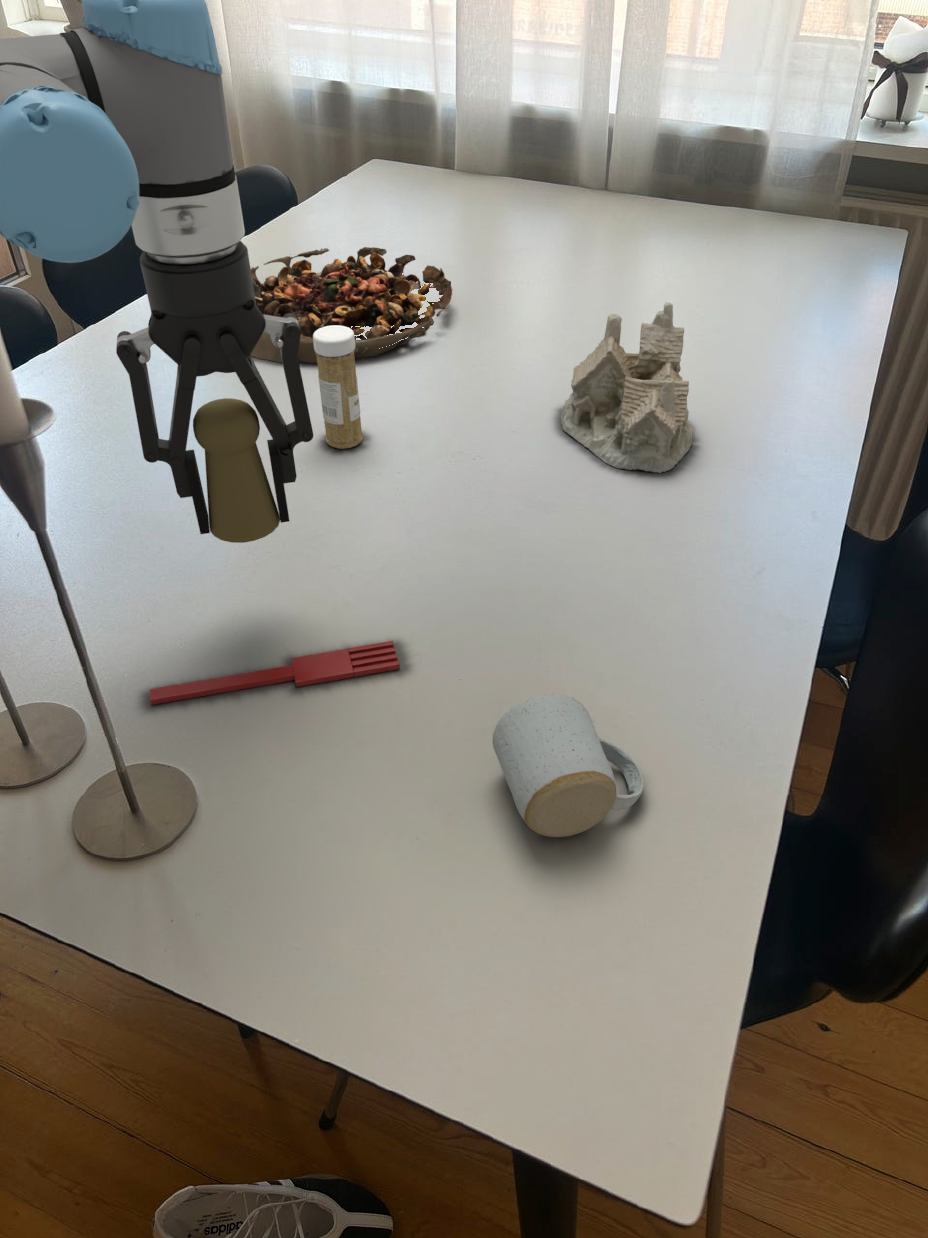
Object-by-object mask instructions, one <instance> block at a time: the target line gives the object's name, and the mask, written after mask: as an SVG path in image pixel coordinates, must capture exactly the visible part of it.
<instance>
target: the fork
mask: <svg viewBox="0 0 928 1238" xmlns="http://www.w3.org/2000/svg"><path fill="white" fill-rule="evenodd" d="M400 669H401V667H400V661H399V660H398V654H397V653H396V648H395V645H394V640H389V641H382V642H377V643H372V644H366V645H359V646H354V647H348V648H342V649H336V650H330V651H325V652H317V653H313V654H306V655H300V656H294V657H291V664H289V665H283V666H277V667H272V668H266V669H265V668H264V669H260V670H253V671H248V672H242V673H235V674H229V675H225V676H218V677H213V678H207V679H200V680H194V681H189V682H184V683H178V684H172V685H166V686H160V687H154V688H153V687H152V688H149V701H150V705H158V704H165V703H171V702H177V701H181V700H187V699H193V698H200V697H205V696H210V695H216V694H223V693H228V692H233V691H234V692H235V691H239V690H245V689H250V688H251V689H252V688H256V687H257V688H258V687H262V686H263V687H264V686H268V685H274V684H279V683H280V684H281V683H286V682H291V681H292V682H293V681H294V683H295V687H296V688H299V687H305V686H310V685H316V684H322V683H327V682H332V681H338V680H344V679H349V678H356V677H361V676H368V675H374V674H378V673H384V672H391V671H396V670H400Z"/></svg>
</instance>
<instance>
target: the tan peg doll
mask: <svg viewBox="0 0 928 1238" xmlns="http://www.w3.org/2000/svg"><path fill="white" fill-rule="evenodd" d="M256 411H257V410H255V409H254V408H253V407H252V406H251V404H250V403H248V402H246V401H245V400H242V399H237V398H230V397H227V398H218V399H214V400H211V401H209V402H207V403H204V404H203V405H202V406H200V407H199V408H198V409H197V410H196V412H195V414H194V416H193V418H192V419H193V420H192V430H193V435H194V438H195V440H196V442H197V444H198V445H199V446H200V447H201V448H202V449H203V450H204V460H205V461H204V462H205V476H206V477H205V478H206V493H207V512H208V518H209V530H210V533H211V534H212V536H213V537H214V538H216V539H218V540H220V541H223V542H227V543H233V544H235V543H236V544H238V543H239V544H242V543H243V544H244V543H249V542H255V541H259V540H261V539H264V538H266V537H267V536H269V535H270V534H272V533H274V532H275V530H276V529H277V528H278V527H279V525H280V523H281V521H280V516H279V510H278V505H277V502H276V500H275V497H274V495H273V492H272V488H271V485H270V482H269V479H268V476H267V474H266V470H265V466H264V463H263V460H262V457H261V454H260V451H259V448H258V445H257V441H258V439H259V436H260V431H261V425H260V419H259V416H258V413H257V412H256Z"/></svg>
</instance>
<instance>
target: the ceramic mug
mask: <svg viewBox="0 0 928 1238" xmlns="http://www.w3.org/2000/svg"><path fill="white" fill-rule="evenodd" d="M492 748H493V751H494V753H495V755H496V758H497V761H498V763H499V767H500V768H501V770H502V774H503V776H504V779H505V781H506V783H507V786H508V788H509V790H510V792H511V795H512V798H513V802H514V804H515V807H516V809H517V811H518V813H519V815H520V817H521V818H522V820H523V821H524V823H525V824H526V826H527V827H528V828H529V829H530V830H532V831H533V832H534V833H536V834H538V835H541V836H544V837H548V838H566V837H572V836H575V835H578V834H580V833H583V832H586V831H588V830H590V829H591V828H593V827H595V826H597V825H598V824H599V823H600V822H601V821H603V820H604V818H606V816H607V815H608V814H609V813H610V812H611V811H621V810H626V809H629V808H631V807H632V806H633V805H634V804H635V803H636V802H637V801H638V799H639V798H640V796H641V795H642V794H643V790H644V787H645V781H644V775H643V773H642V770H641V768H640V766H639V764H637V762H636V761H635V760H634V758H633V757H632V756H631V755H630V754H629V753H628V752H626V751H625V750H624V749H623V748H621V747H620V746H618V745H617V744H614V743H612V742H610V741H608V740H606V739H604V738H602V737H601V738H600V737H599V735H598V733H597V731H596V729H595V725H594V722H593V721H592V717H591V715H590V713H589V711H588V709H587V708H586V706H585V705H584V704H583V703H582V702H581V701H579V700H578V699H576V698H574V697H573V696H569V695H566V694H560V693H549V694H541V695H538V696H534V697H530V698H528V699H526V700H523V701H521V702H519V703H517V704H516V705H514V706H513V707H511V708H510V709H509V710H507V712H505V713H504V715H502V716H501V718H500V719H499V720H498V722H497V723H496V725H495V727H494V729H493V732H492ZM610 763H611V764H612V765H614V767H616V768H618V769H619V771H620V772H621V773H622V775H623V776H624V779H625V781H626V785H627V791H628V793H629V794H617V785H616V779H615V776H614V772H613V768H612V767H611V764H610Z"/></svg>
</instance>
